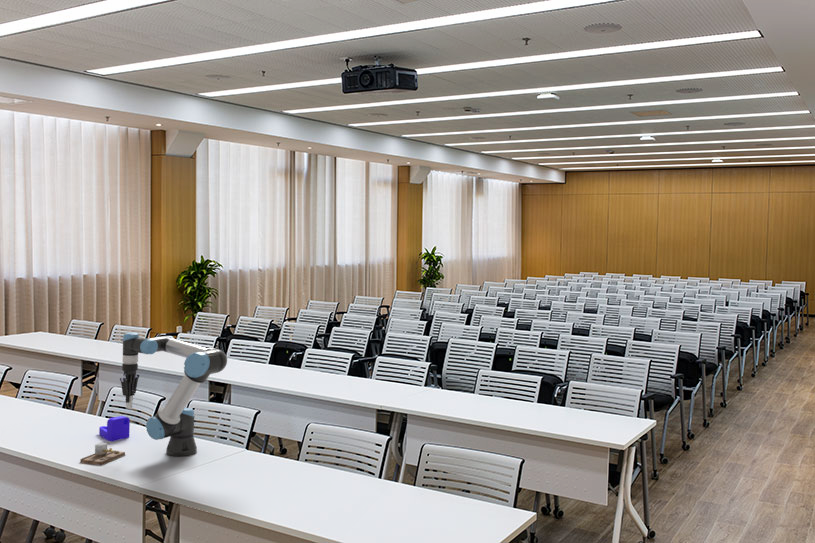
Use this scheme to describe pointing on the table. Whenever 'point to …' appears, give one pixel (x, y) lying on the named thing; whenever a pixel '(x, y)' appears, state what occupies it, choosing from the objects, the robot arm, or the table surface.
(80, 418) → the table surface
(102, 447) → the slider with brass pointer
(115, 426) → the bracket
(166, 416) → the robot arm
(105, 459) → the wooden knob panel
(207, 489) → the table surface
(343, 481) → the table surface
